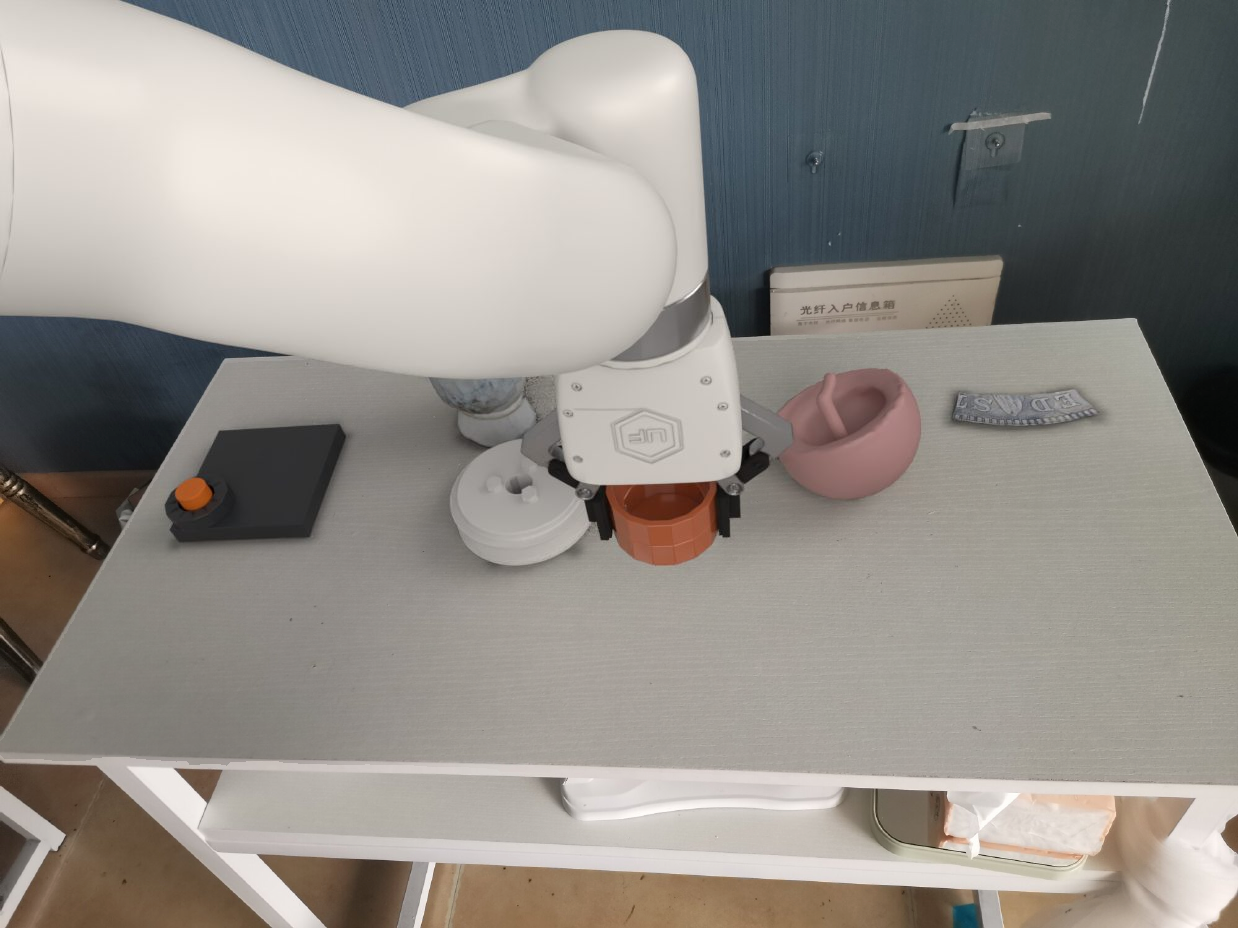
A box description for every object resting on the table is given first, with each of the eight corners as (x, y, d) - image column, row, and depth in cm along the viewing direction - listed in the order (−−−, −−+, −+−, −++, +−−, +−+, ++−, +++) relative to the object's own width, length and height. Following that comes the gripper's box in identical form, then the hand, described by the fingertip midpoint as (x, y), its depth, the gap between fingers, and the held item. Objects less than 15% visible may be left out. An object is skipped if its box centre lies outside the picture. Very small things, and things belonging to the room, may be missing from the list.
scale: (308, 540, 81) (293, 515, 79) (174, 545, 83) (155, 522, 81) (346, 436, 90) (333, 411, 88) (224, 443, 92) (208, 419, 90)
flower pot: (720, 569, 55) (717, 524, 52) (611, 571, 56) (601, 527, 53) (719, 486, 60) (716, 440, 57) (618, 490, 61) (610, 444, 58)
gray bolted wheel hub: (436, 509, 82) (421, 473, 78) (551, 443, 86) (541, 406, 82) (502, 597, 74) (489, 561, 71) (625, 520, 78) (618, 483, 74)
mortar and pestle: (805, 413, 84) (809, 317, 76) (931, 451, 79) (949, 352, 71) (750, 500, 78) (748, 406, 70) (883, 547, 73) (898, 452, 64)
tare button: (206, 510, 81) (198, 499, 80) (178, 511, 82) (169, 501, 80) (217, 487, 83) (209, 476, 82) (189, 488, 84) (181, 478, 82)
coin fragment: (1089, 389, 82) (1090, 385, 81) (1104, 425, 78) (1106, 422, 78) (946, 394, 84) (947, 391, 83) (955, 430, 80) (956, 426, 80)
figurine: (557, 394, 91) (527, 273, 80) (520, 458, 85) (483, 336, 74) (473, 381, 94) (433, 262, 83) (432, 441, 88) (384, 322, 77)
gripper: (456, 357, 43) (528, 571, 56) (817, 337, 41) (806, 566, 54) (482, 268, 49) (542, 483, 61) (805, 246, 46) (797, 474, 59)
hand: (665, 520), depth 58 cm, fingers closed on flower pot, 7 cm apart
